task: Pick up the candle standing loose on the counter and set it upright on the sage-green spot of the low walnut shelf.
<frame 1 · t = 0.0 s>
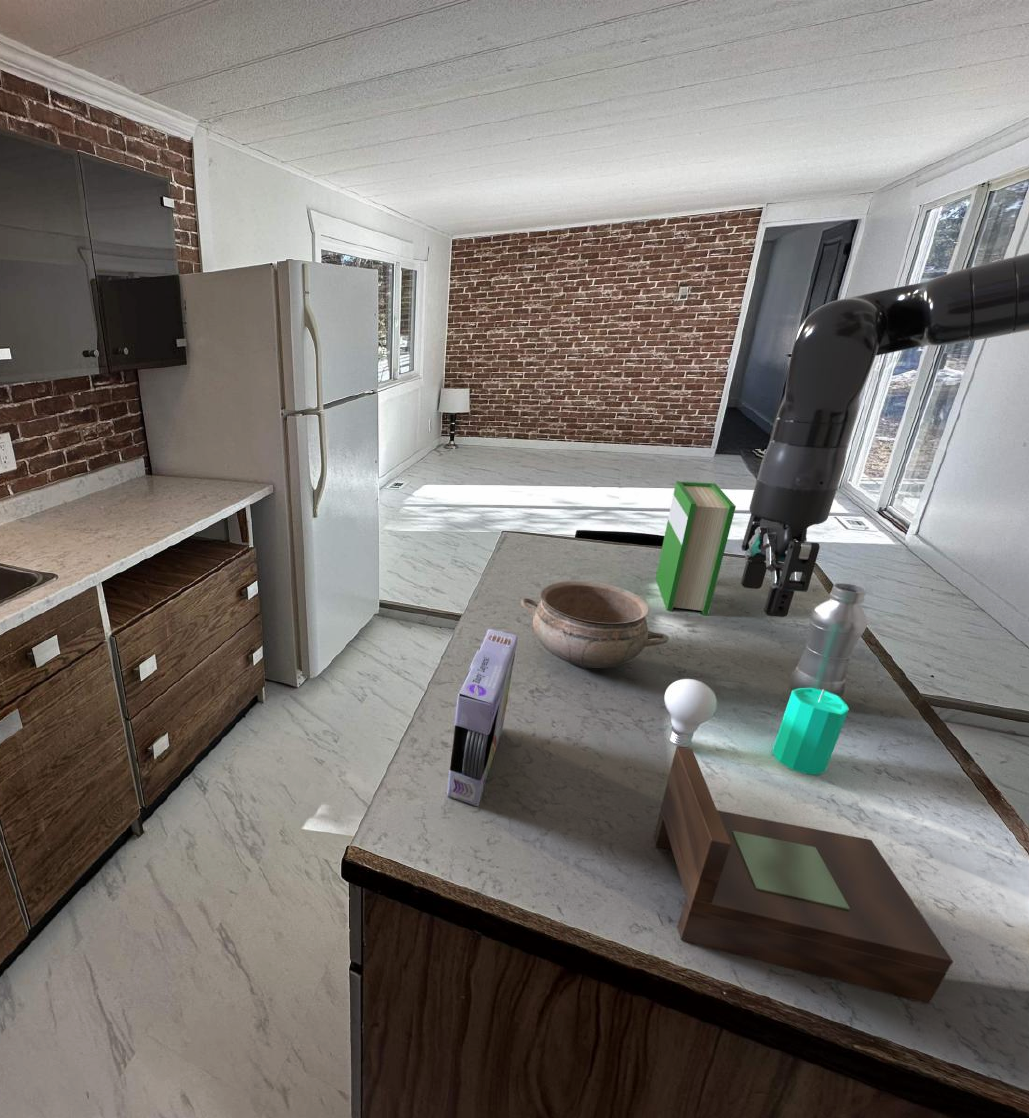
hand: (761, 600, 77), 25 cm above the counter, tool pointing down, fingers open, 8 cm apart
shelf: (771, 908, 65), on the counter
hardback book: (679, 596, 134), on the counter
lightbulb: (678, 745, 89), on the counter
candle: (797, 761, 85), on the counter
cooking pot: (582, 659, 112), on the counter
plastic bottle: (811, 698, 98), on the counter
cake pan box: (476, 764, 87), on the counter
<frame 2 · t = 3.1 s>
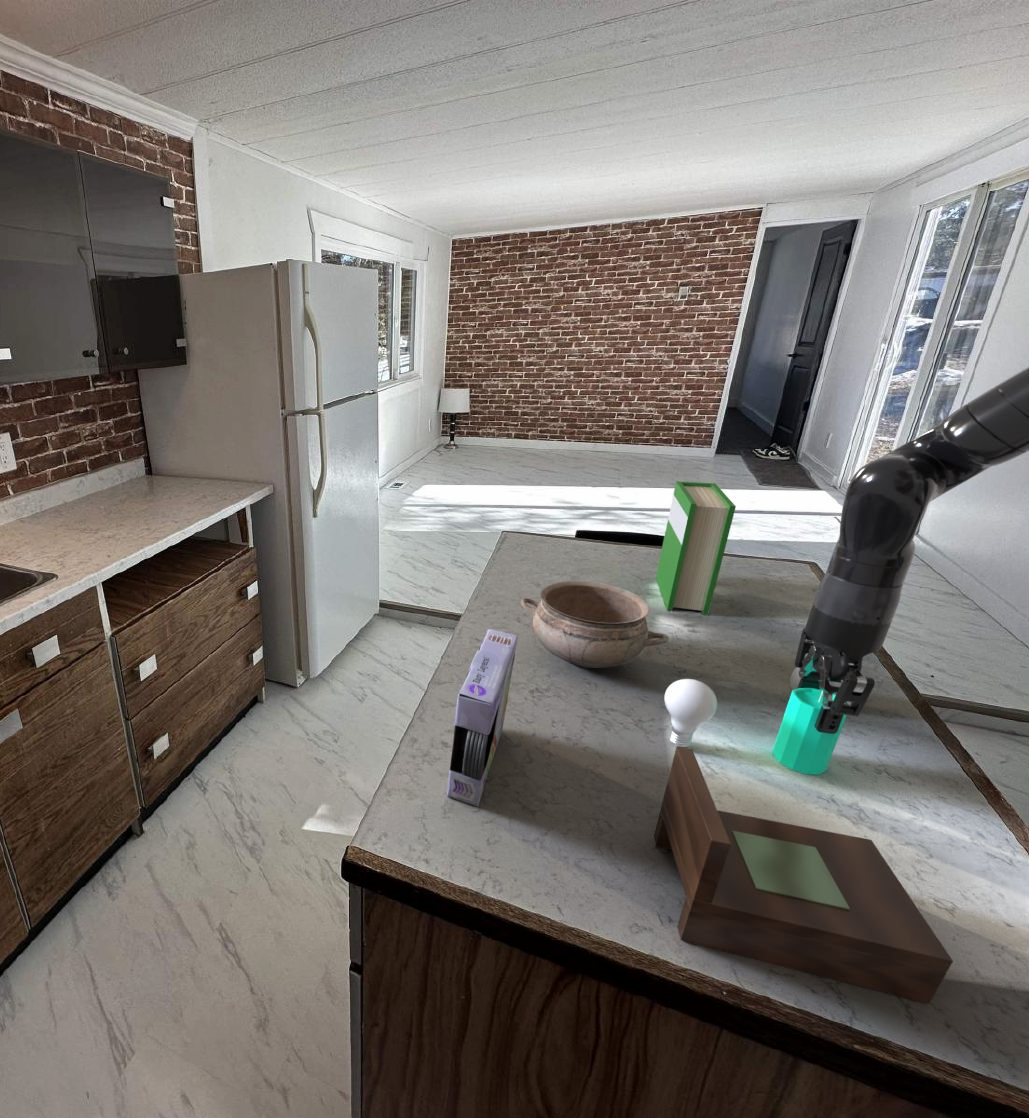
hand: (813, 716, 82), 8 cm above the counter, tool pointing down, fingers closed on candle, 6 cm apart
candle: (798, 761, 85), on the counter, touching gripper
everything else where it was.
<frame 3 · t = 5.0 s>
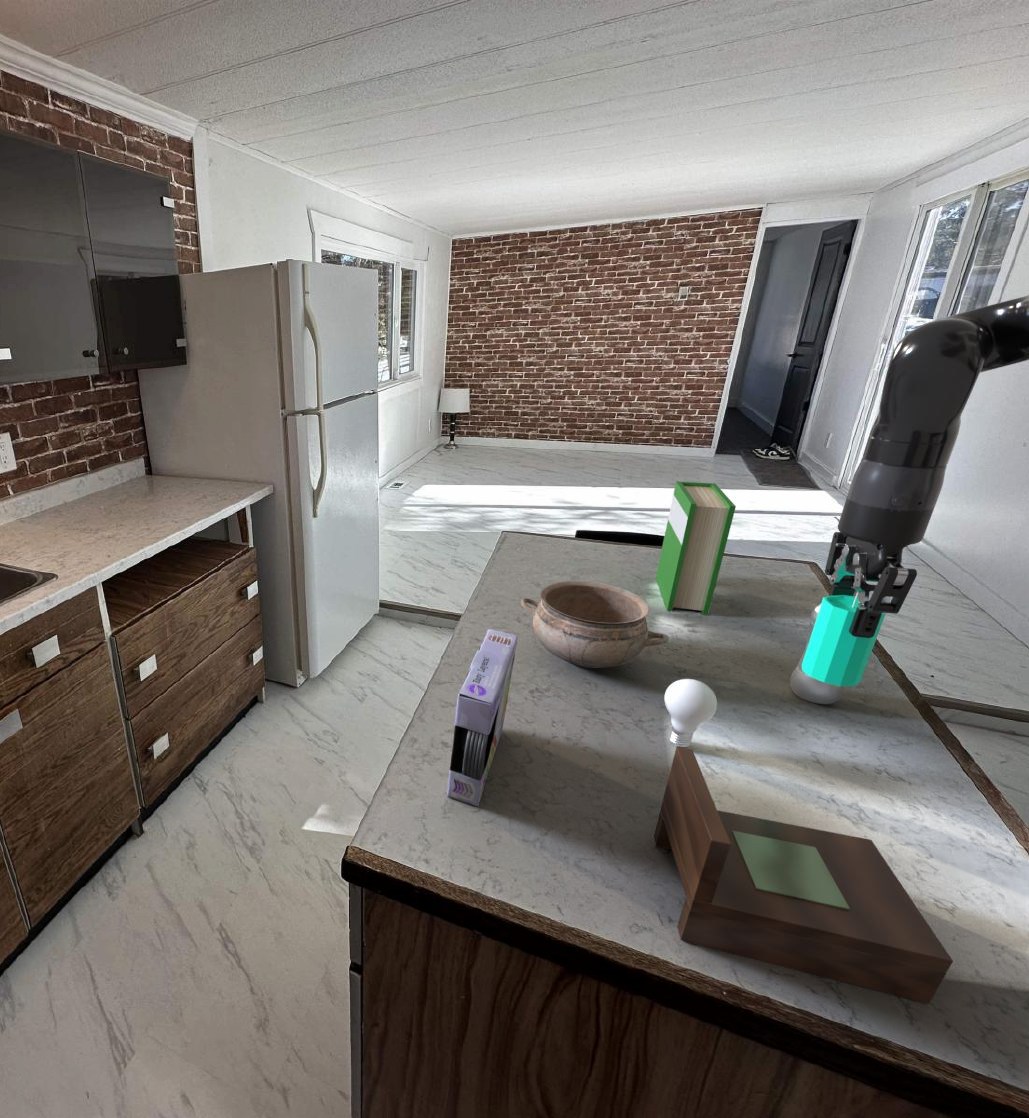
hand: (847, 623, 77), 22 cm above the counter, tool pointing down, fingers closed on candle, 6 cm apart
candle: (829, 675, 80), point 14 cm above the counter, touching gripper
everything else where it was.
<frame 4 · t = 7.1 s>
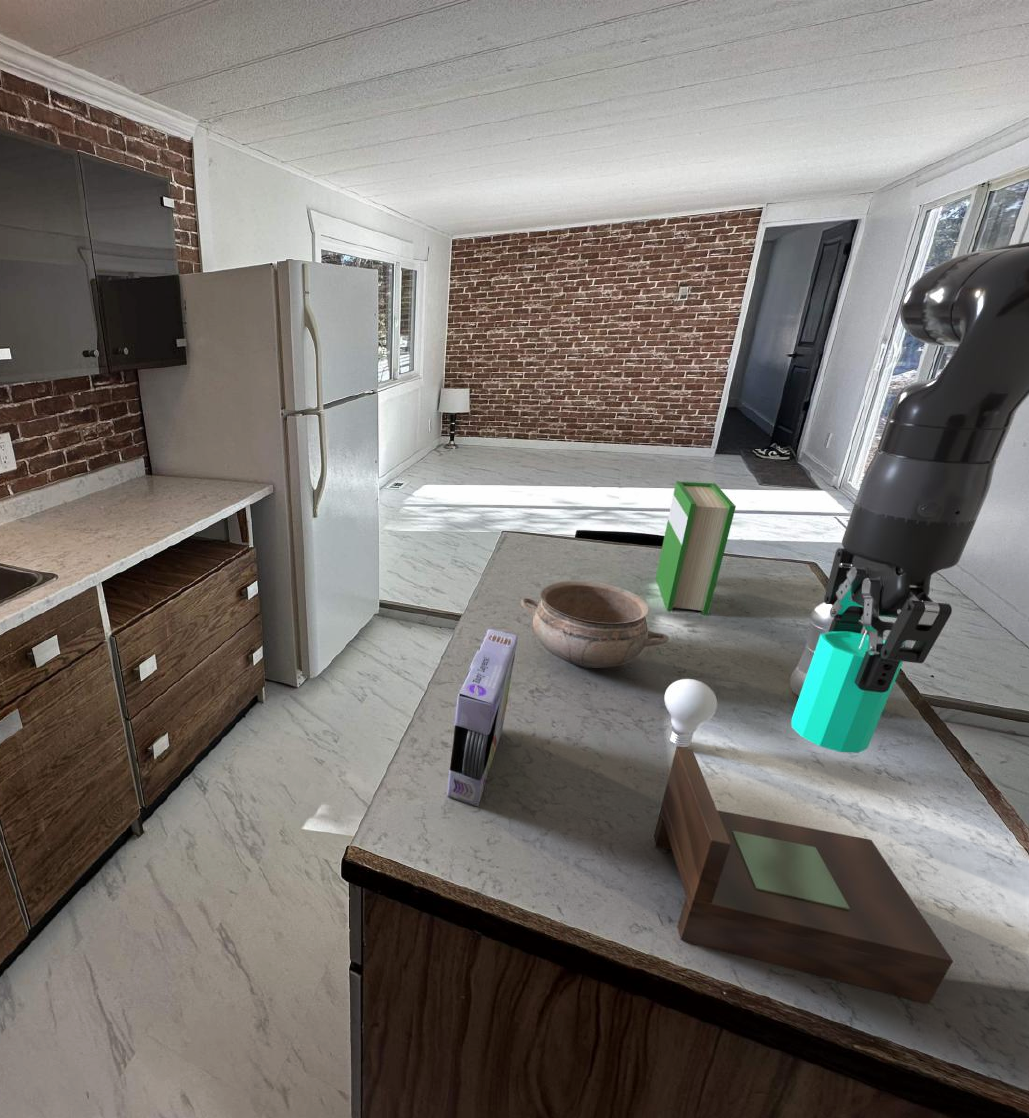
hand: (852, 669, 58), 28 cm above the counter, tool pointing down, fingers closed on candle, 6 cm apart
candle: (827, 734, 61), point 20 cm above the counter, touching gripper
everything else where it was.
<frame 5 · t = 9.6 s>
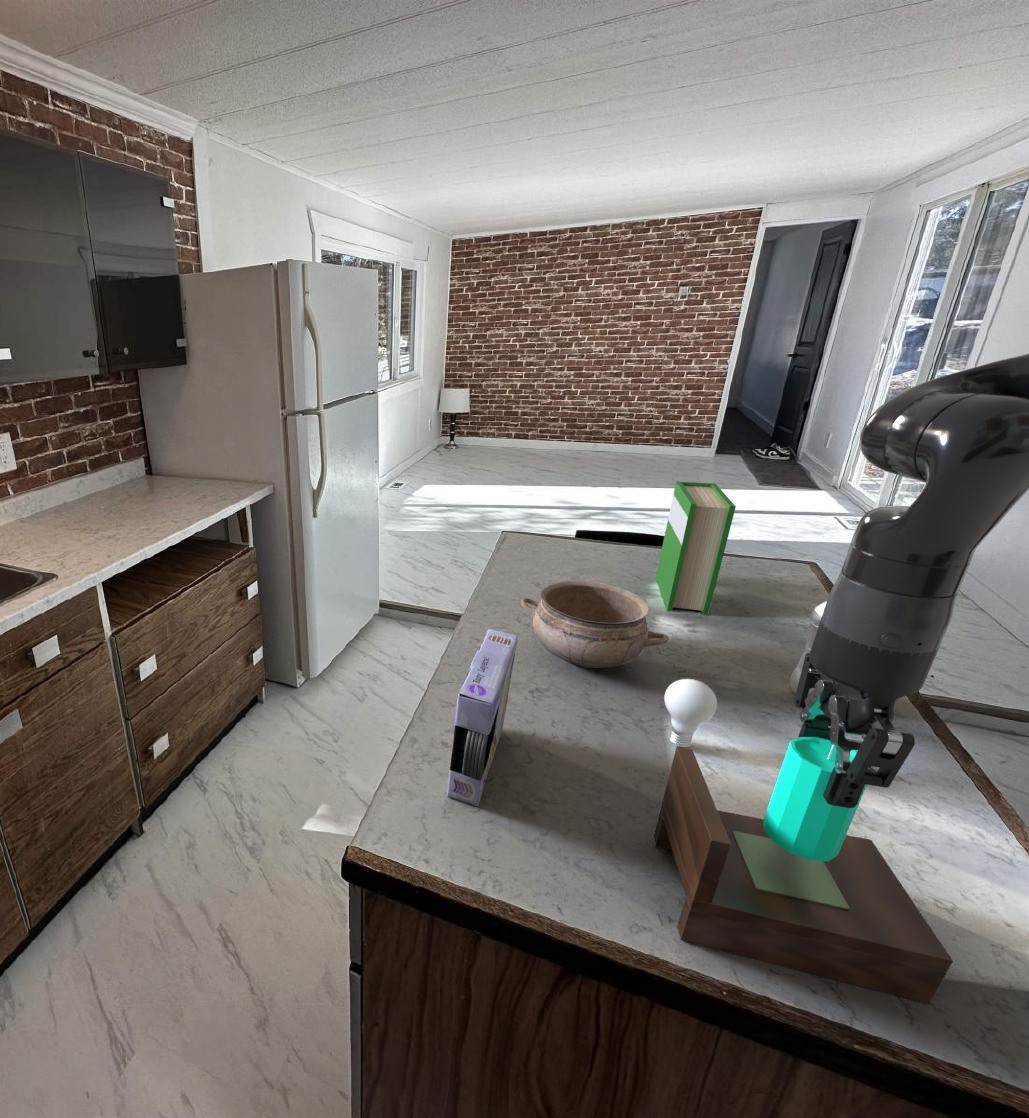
hand: (821, 778, 58), 18 cm above the counter, tool pointing down, fingers closed on candle, 6 cm apart
candle: (798, 838, 61), point 10 cm above the counter, touching gripper
everything else where it was.
when the fingers open (14 cm above the counter, at t = 11.2 s): candle stays where it is, resting on shelf.
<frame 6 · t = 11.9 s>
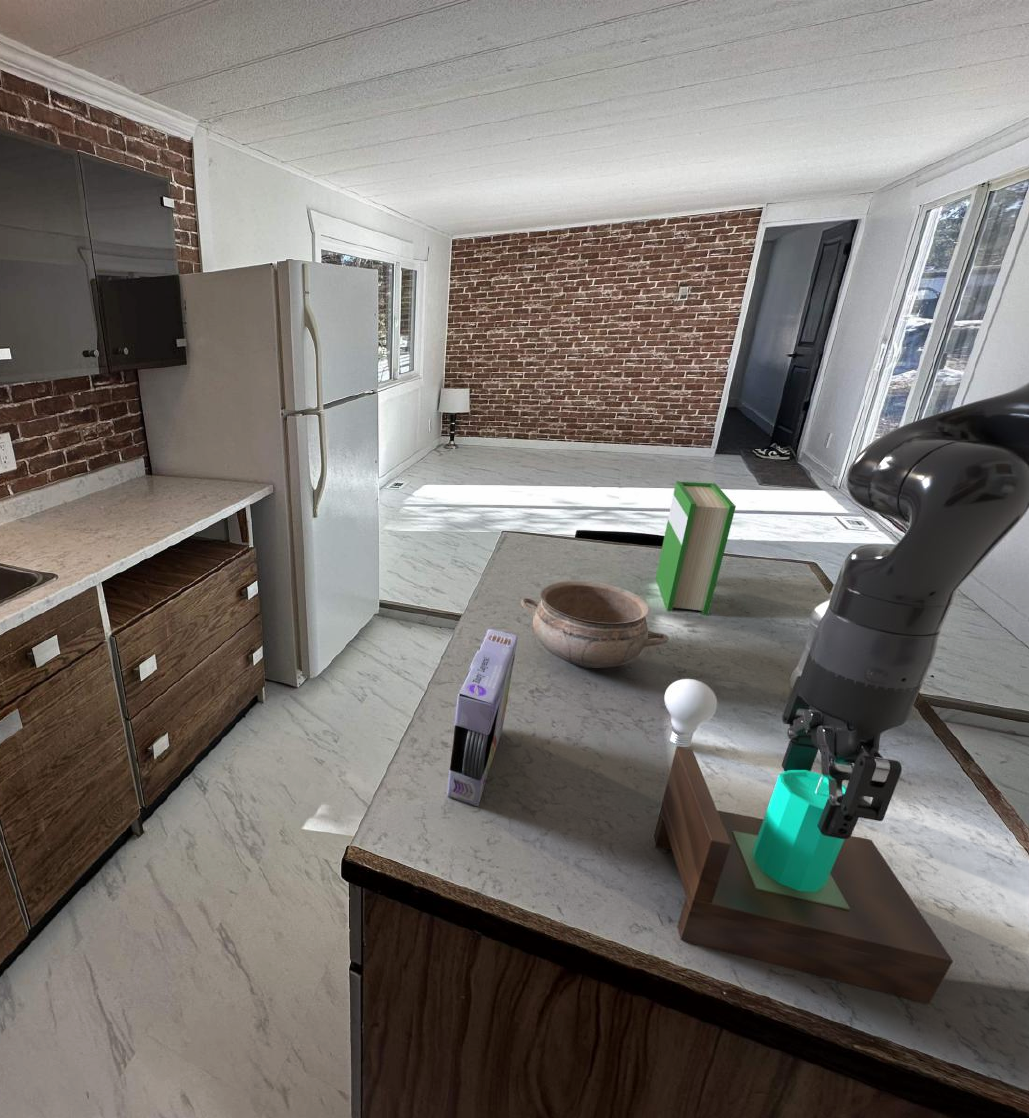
hand: (811, 801, 59), 15 cm above the counter, tool pointing down, fingers open, 8 cm apart
candle: (787, 868, 62), point 6 cm above the counter, touching shelf
everything else where it was.
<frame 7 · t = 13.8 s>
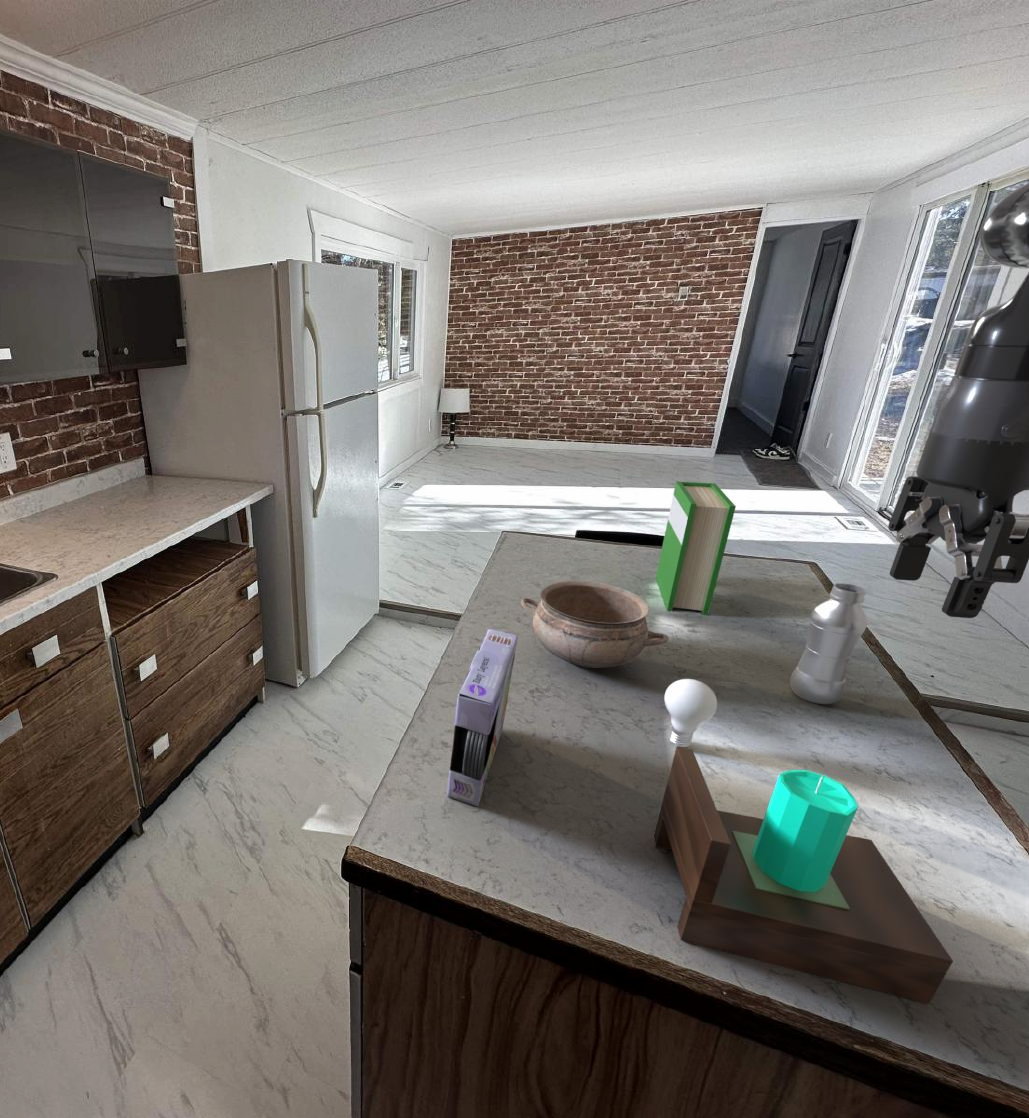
hand: (928, 596, 58), 34 cm above the counter, tool pointing down, fingers open, 8 cm apart
nothing on the counter moved.
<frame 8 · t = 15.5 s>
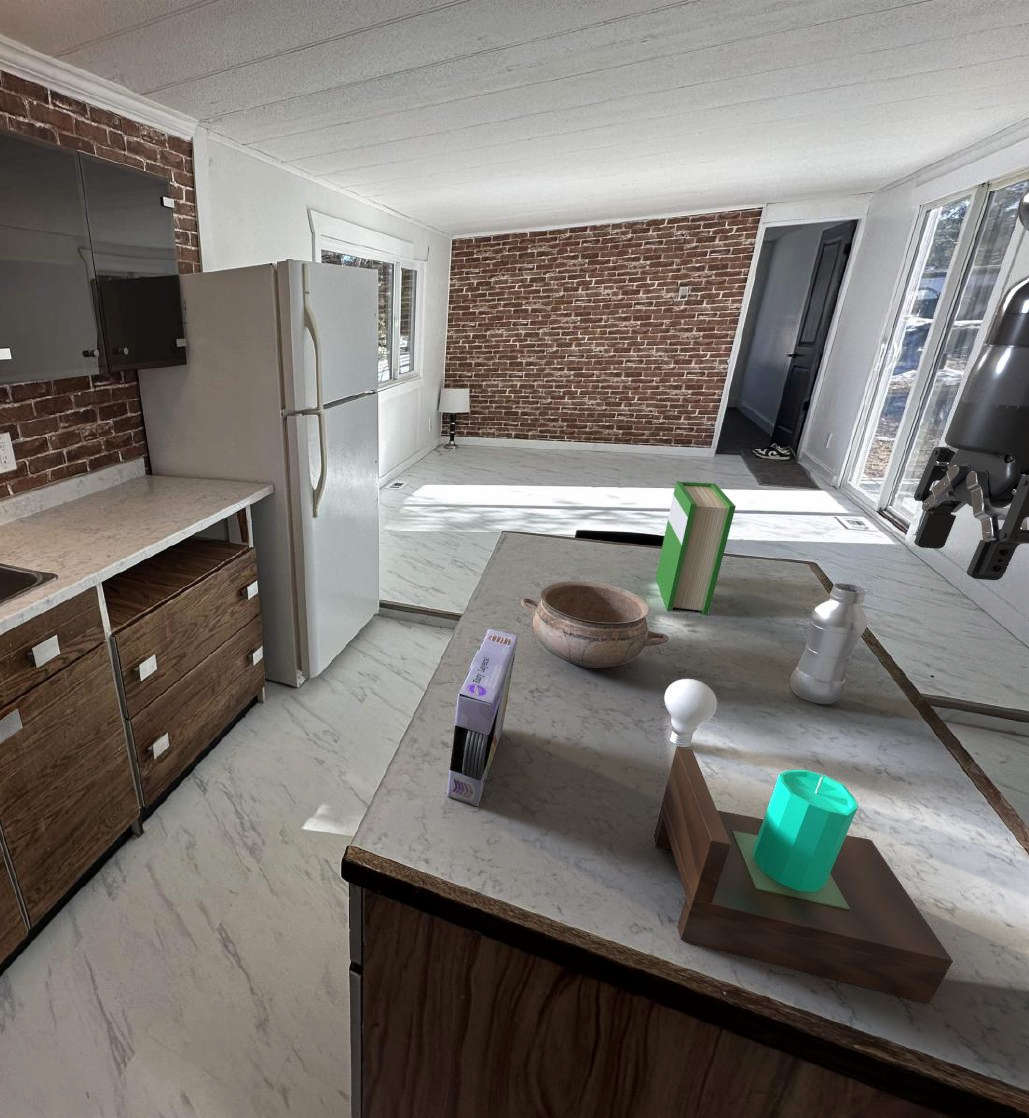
hand: (953, 561, 60), 36 cm above the counter, tool pointing down, fingers open, 8 cm apart
nothing on the counter moved.
at the end: candle 0.1 cm off-centre on the shelf, point 6.0 cm above the shelf's base; candle tilted 0° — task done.
